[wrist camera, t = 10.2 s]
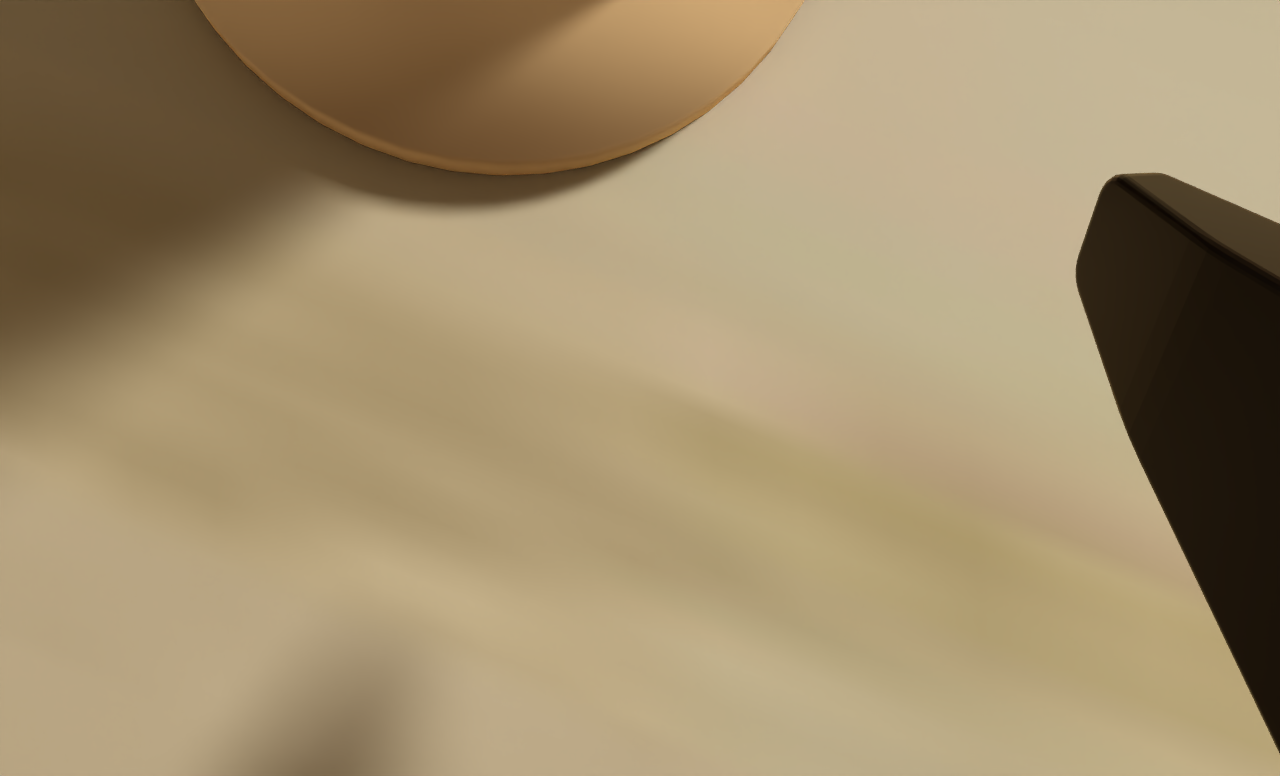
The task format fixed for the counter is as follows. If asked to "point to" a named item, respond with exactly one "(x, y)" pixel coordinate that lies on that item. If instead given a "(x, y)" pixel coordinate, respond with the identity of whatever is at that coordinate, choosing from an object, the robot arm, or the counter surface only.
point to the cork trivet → (502, 71)
